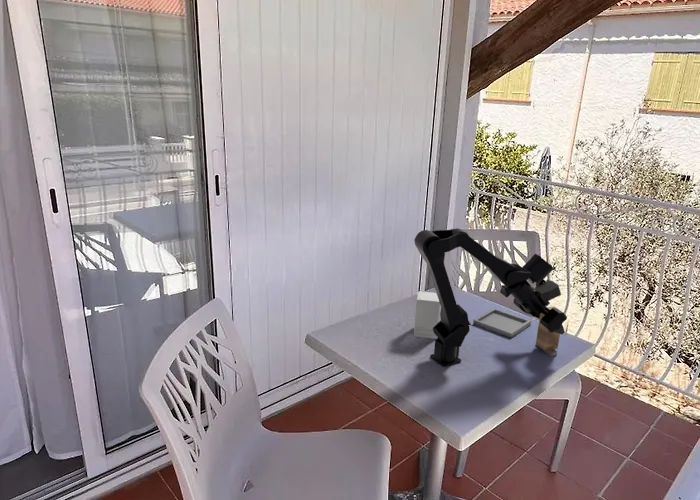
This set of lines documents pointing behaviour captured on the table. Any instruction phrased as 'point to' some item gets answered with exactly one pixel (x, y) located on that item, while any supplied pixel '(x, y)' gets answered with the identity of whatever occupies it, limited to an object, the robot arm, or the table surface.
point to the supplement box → (426, 314)
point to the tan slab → (547, 338)
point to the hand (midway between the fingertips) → (553, 326)
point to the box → (502, 322)
